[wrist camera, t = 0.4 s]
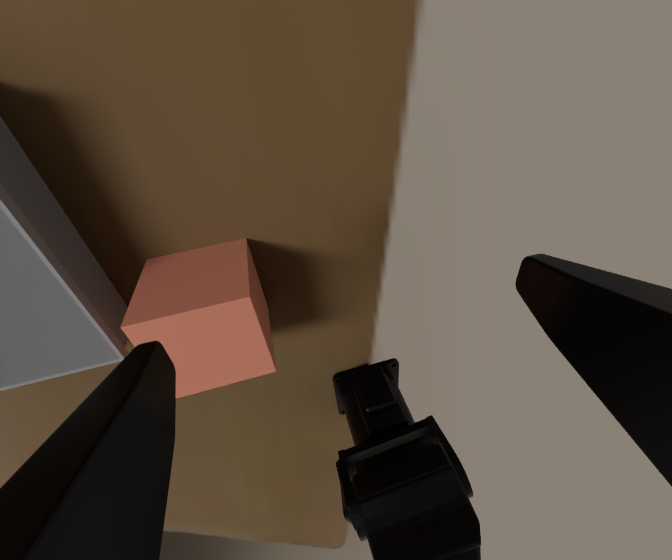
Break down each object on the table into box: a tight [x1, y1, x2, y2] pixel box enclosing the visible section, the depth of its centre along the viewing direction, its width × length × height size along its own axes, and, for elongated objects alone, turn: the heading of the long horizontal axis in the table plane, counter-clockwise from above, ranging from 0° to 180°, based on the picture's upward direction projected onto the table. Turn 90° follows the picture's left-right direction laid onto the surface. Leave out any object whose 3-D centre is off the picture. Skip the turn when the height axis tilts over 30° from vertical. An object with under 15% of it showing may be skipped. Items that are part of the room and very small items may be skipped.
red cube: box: [120, 238, 276, 398], centre depth 20 cm, size 6×6×6 cm
